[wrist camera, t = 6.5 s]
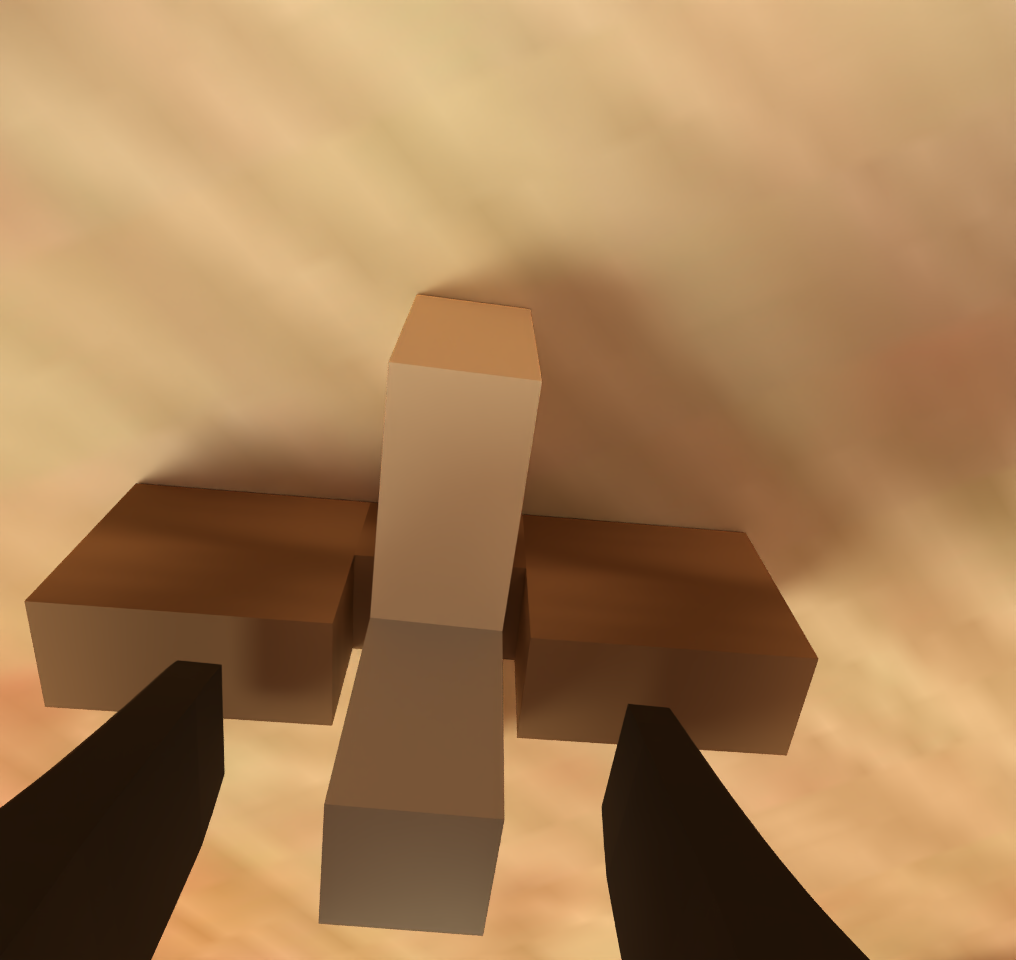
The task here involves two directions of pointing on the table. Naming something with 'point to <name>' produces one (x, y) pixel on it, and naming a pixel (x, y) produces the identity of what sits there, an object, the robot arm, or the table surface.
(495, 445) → the burr puzzle piece
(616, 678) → the walnut slotted plate
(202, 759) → the robot arm
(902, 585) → the table surface
